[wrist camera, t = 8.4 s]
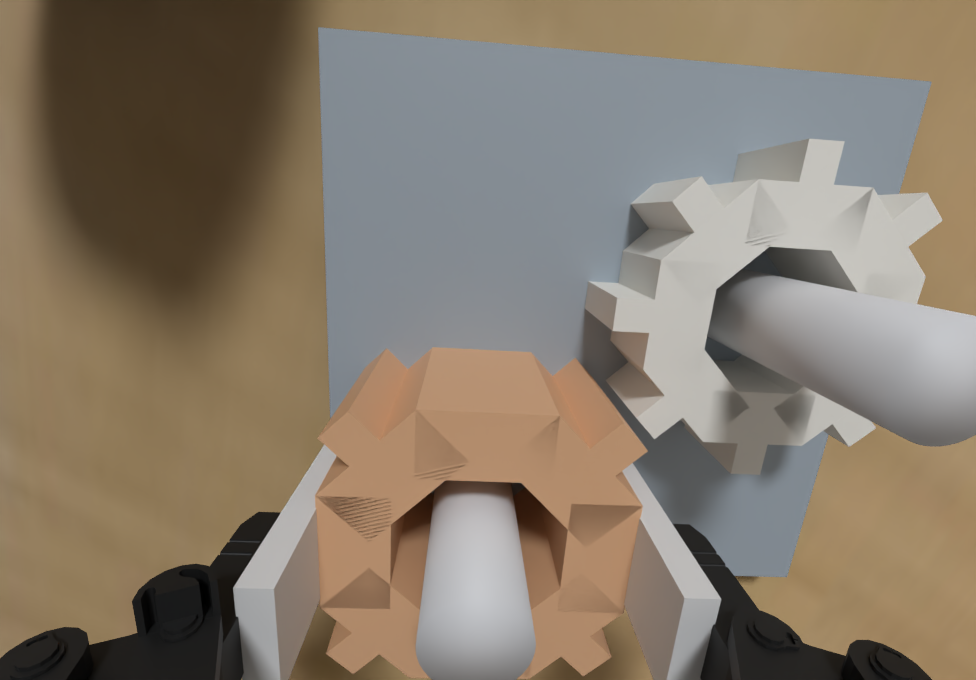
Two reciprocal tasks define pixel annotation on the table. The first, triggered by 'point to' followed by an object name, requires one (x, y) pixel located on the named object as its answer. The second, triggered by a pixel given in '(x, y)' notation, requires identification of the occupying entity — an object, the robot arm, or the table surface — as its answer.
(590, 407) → the loose gear
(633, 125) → the gear board
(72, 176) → the table surface
